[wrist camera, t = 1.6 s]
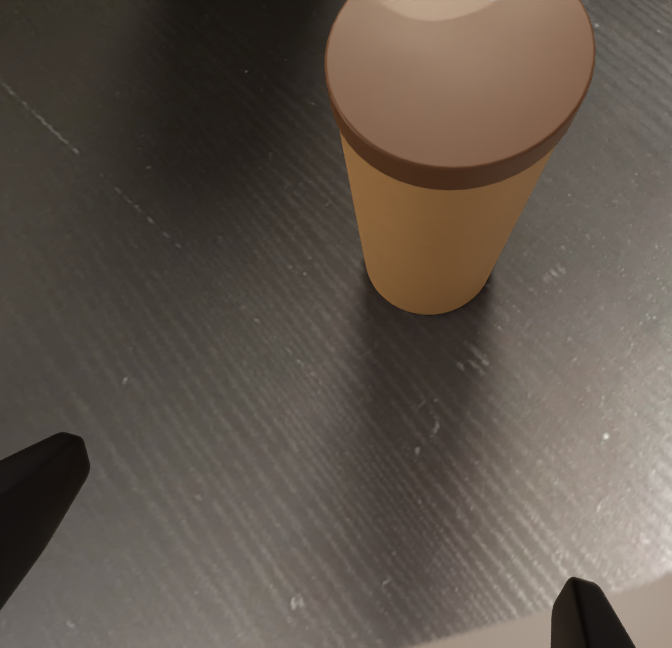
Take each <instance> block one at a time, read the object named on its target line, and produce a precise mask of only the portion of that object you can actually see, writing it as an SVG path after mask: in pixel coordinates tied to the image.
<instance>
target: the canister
mask: <svg viewBox="0 0 672 648" xmlns="http://www.w3.org/2000/svg"><path fill="white" fill-rule="evenodd" d="M595 50H596V48H595V40H594V32H593V29H592V25H591V22H590V18H589V16H588V14H587V12H586V10H585V8H584V5H583V3H582V2H581V0H347V1H346V2H345V4H344V5H343V7H342V8H341V10H340V11H339V13H338V15H337V17H336V19H335V21H334V23H333V25H332V28H331V31H330V34H329V37H328V40H327V45H326V51H325V66H324V71H325V78H326V85H327V90H328V95H329V100H330V105H331V109H332V112H333V115H334V119H335V121H336V123H337V125H338V128H339V130H340V135H341V140H342V146H343V151H344V156H345V161H346V166H347V171H348V177H349V182H350V187H351V192H352V197H353V202H354V208H355V213H356V218H357V223H358V228H359V234H360V239H361V244H362V249H363V254H364V259H365V265H366V269H367V272H368V275H369V278H370V280H371V282H372V284H373V285H374V287H375V288H376V290H377V291H378V292H379V293H380V294H381V295H382V296H383V297H384V298H385V299H386V300H387V301H389V302H390V303H391V304H393V305H395V306H396V307H398V308H400V309H403V310H405V311H408V312H412V313H416V314H424V315H432V314H441V313H445V312H449V311H452V310H454V309H457V308H459V307H461V306H463V305H464V304H466V303H467V302H469V301H470V300H471V299H473V298H474V297H475V296H476V295H477V294H478V293H479V291H480V290H481V289H482V287H483V286H484V285H485V283H486V281H487V279H488V277H489V275H490V273H491V271H492V269H493V267H494V265H495V263H496V261H497V259H498V257H499V256H500V254H501V252H502V250H503V248H504V246H505V244H506V242H507V240H508V238H509V236H510V234H511V232H512V230H513V228H514V226H515V224H516V222H517V220H518V218H519V216H520V214H521V212H522V210H523V208H524V206H525V204H526V202H527V200H528V198H529V196H530V194H531V192H532V190H533V188H534V186H535V184H536V183H537V181H538V179H539V177H540V175H541V173H542V171H543V169H544V167H545V165H546V163H547V161H548V159H549V157H550V155H551V153H552V151H553V149H554V147H555V146H556V145H557V143H558V142H559V141H560V139H561V138H562V137H563V135H564V134H565V133H566V132H567V130H568V128H569V126H570V124H571V123H572V121H573V119H574V117H575V115H576V113H577V111H578V109H579V108H580V106H581V104H582V102H583V100H584V98H585V96H586V94H587V91H588V89H589V86H590V83H591V80H592V76H593V71H594V66H595Z"/></svg>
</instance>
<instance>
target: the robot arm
mask: <svg viewBox="0 0 672 648" xmlns="http://www.w3.org/2000/svg"><path fill="white" fill-rule="evenodd" d="M89 471H90V462H89V459H88V455H87V451H86V447H85V443H84V440H83V439H82V438H81V437H80V436H77V435H73V434H70V433H66V432H60V433H57V434H55V435H52V436H50V437H48V438H46V439H44V440H42V441H40V442H38V443H36V444H34V445H32V446H29V447H27V448H25V449H23V450H21V451H19V452H17V453H15V454H13V455H11V456H9V457H6V458H4V459H2V460H0V610H1V609H2V607H3V606H4V605H5V603H6V602H7V600H8V599H9V598H10V596H11V595H12V594H13V592H14V591H15V589H16V588H17V587H18V585H19V584H20V583H21V581H22V580H23V578H24V577H25V576H26V574H27V573H28V572H29V570H30V569H31V567H32V566H33V565H34V563H35V562H36V560H37V559H38V558H39V556H40V555H41V553H42V552H43V550H44V549H45V547H46V546H47V544H48V543H49V541H50V539H51V538H52V536H53V534H54V533H55V531H56V529H57V528H58V526H59V524H60V523H61V521H62V519H63V518H64V516H65V514H66V512H67V511H68V509H69V507H70V506H71V504H72V502H73V501H74V499H75V497H76V496H77V494H78V492H79V491H80V489H81V487H82V485H83V484H84V482H85V480H86V479H87V477H88V474H89ZM551 648H636V647H635V645H634V644H633V642H632V640H631V639H630V637H629V635H628V634H627V632H626V630H625V628H624V627H623V626H622V623H621V622H620V620H619V618H618V617H617V615H616V613H615V611H614V610H613V608H612V606H611V605H610V603H609V601H608V600H607V598H606V596H605V595H604V593H603V591H602V590H601V588H600V587H599V586H598V585H597V584H595V583H594V582H590V581H587V580H583V579H580V578H576V577H571V578H569V579H568V580H567V582H566V584H565V585H564V587H563V589H562V590H561V592H560V594H559V596H558V597H557V599H556V601H555V603H554V605H553V609H552V619H551Z"/></svg>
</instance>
